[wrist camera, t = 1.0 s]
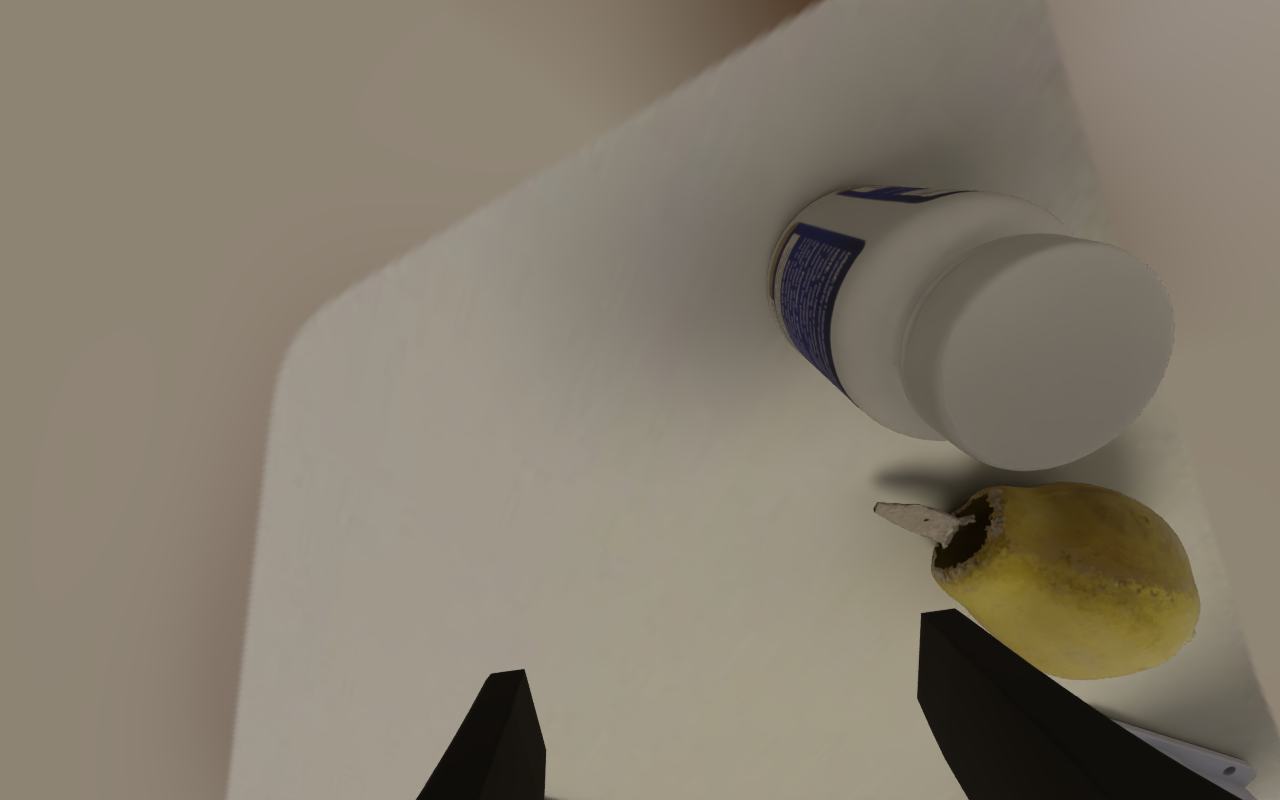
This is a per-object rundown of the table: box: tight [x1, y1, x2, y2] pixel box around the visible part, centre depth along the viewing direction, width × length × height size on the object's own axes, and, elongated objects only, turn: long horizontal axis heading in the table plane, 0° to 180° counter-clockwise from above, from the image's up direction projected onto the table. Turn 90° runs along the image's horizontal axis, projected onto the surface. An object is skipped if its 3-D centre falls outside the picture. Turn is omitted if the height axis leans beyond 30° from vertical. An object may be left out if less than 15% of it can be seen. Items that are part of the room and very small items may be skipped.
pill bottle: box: [767, 185, 1175, 471], centre depth 14 cm, size 5×5×9 cm
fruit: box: [874, 482, 1200, 680], centre depth 19 cm, size 6×6×10 cm
